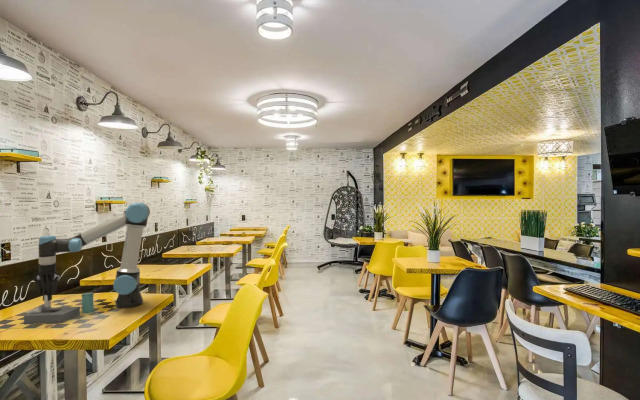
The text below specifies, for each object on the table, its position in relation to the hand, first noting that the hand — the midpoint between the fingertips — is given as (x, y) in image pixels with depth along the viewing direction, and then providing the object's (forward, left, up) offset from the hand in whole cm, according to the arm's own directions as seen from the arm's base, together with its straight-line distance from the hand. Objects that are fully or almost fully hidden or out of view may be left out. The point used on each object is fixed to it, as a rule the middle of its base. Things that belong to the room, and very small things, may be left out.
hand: (47, 306), depth 190 cm
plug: (-15, -11, -7) cm, 20 cm away
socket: (-3, 0, -7) cm, 8 cm away
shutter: (+4, 0, -2) cm, 5 cm away
